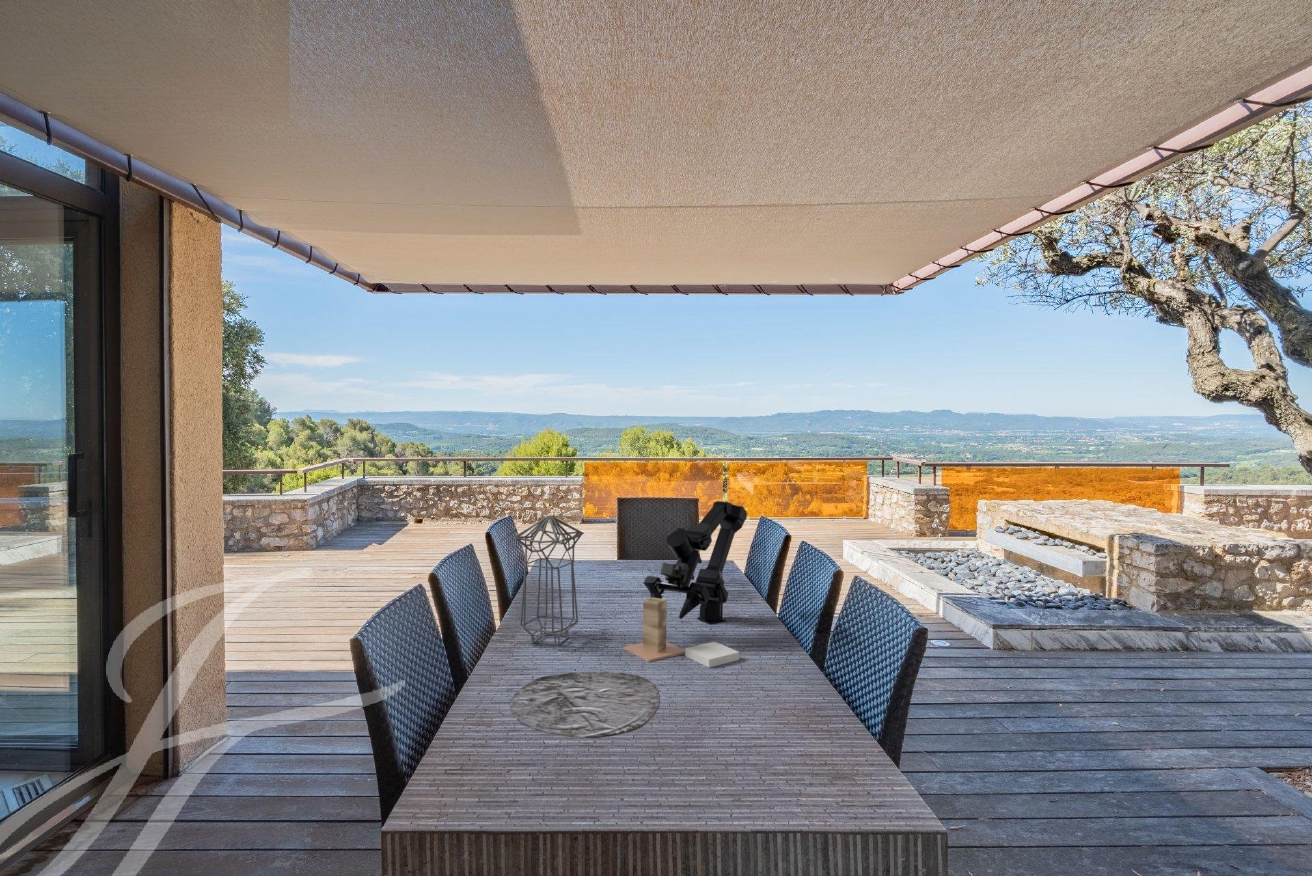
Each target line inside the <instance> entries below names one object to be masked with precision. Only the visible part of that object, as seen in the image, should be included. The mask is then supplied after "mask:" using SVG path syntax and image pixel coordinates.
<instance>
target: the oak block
mask: <svg viewBox="0 0 1312 876" xmlns="http://www.w3.org/2000/svg"><path fill="white" fill-rule="evenodd" d="M642 603H643V605H642V606H643V607H642V610H643V611H642V613H643V616H642V618H643V619H642V643H643V650H647V651H651V652H656V653H658V652H660V651H662V650H664V649H665V648H666V642H667V612H668V611H667V607H668V605H667V599H664V598H662V599H659V598H653V597H652V598H651V597H649V598H647V599H645V600H643V602H642Z"/></svg>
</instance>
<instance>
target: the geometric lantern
mask: <svg viewBox="0 0 1312 876" xmlns="http://www.w3.org/2000/svg"><path fill="white" fill-rule="evenodd" d="M548 522H549V523H550V526H551V527H550V528H551V530H547V529H546V528H547V526H548ZM562 525H563V526H565V527H568V528H569V529H571V530H573V531H568V530H566V529H565V528H564V527H563V526H562ZM527 532H528V533H527ZM540 532H541V536H540V538H539V540H535V538H536V537H537V535H538V534H539V533H540ZM526 533H527V534H526ZM524 534H525V535H524ZM550 534H553V536H554V537H552V536H551V535H550ZM572 534H573V535H572ZM584 534H585V533H584V532H583V531H581V530H579V529H578V528H575V527H573V526H572V525H570V524H568V523H566V522H565V521H562V520H561V519H559V518H557V517H555V516H553V515H546V516H545V517H544V518H542V519H540V520H538V521H537V522H535V523H534V524H533V525H531V526H529V527H528V528H526V529H525V530H523V531H521V532H520V533H518V534H516V535H514V537H513V539H514V540H515V541H516V542H518V543H519V544H521V546H523V547H524V552H525V553H524V569H523V582H522V584H523V585H522V594H521V608H520V620H519V621H520V623H519V627H520V629H522V630H524V631H525V632H526V633H527V634H529V635H530V637H531V638H530V642H531V643H532V644H541V645H550V646H559V645H561V644H562V643H564V642H565V641H566V640H568V639H569V638H570V637H569V631H570V630H571V629H572V628H573V627H575V625H577V624H578V623H579V614H578V604H577V603H578V602H577V592H576V591H577V590H576V581H575V579H576V578H575V569H574V566H575V565H574V564H575V563H574V562H575V547H576V546H575V545H576V544H577V542H579V540H580V538H581V537H582V536H583V535H584ZM544 535H546V536H547V537H548V538H549V539H551V540H543V537H544ZM560 536H561V540H560ZM570 541H572V545H571V544H570ZM527 542H529V544H527ZM534 543H535V544H536V543H537V544H538V548H539V549H536V547H535V546H534ZM546 543H548V544H547V545H546V546H544V547H543V548H542V547H541V544H546ZM549 543H550V544H549ZM557 544H560V545H563V548H564V549H565V551H564V552H563V555H562V556H561V557H560V558H554V557H553V558H551V557H550V556H551V554H552V552H553V551H554V549H555V547H556V546H557ZM570 545H571V546H570ZM551 546H552V548H551V550H550V551H549V553H548V554H546V553H545V550H546V549H549V547H551ZM567 546H568V547H567ZM570 550H572V555H571V554H570V552H569V551H570ZM528 551H529V552H530V554H529V556H528ZM533 553H536V554H537V556H538V557H539V558H537V559H534V560H531V561H530V559H531V557H532V554H533ZM539 553H542V555H543V557H542V556H541V554H539ZM566 553H567V554H568V556H569V557H568V558H569V559H566V558H565V556H566ZM550 560H554V561H559V563H558V564H557V566H553V565H552V562H550ZM537 561H539V565H529V564H532V563H535V562H537ZM542 561H545V566H542ZM562 561H568V562H569V563H566V564H563V565H561V562H562ZM548 565H549V566H548ZM560 565H561V566H560ZM569 565H570V571H571V572H570V573H571V577H570V579H571V580H570V581H571V607H572V617H568V616H567V617H566V616H563V609H562V608H563V607H562V591H561V590H562V589H561V576H560V574H561V573H560V571H561V570H560V569H562V568H564V567H566V566H569ZM529 567H530V568H538V584H537V587H538V588H537V602H536V603H537V604H536V616H535V617H534V618H532V619H530V620H528V621H526V611H527V610H526V609H527V606H526V603H527V600H526V599H527V569H528V568H529ZM542 569H545V605H544V606H545V609H544V610H545V615H539V613H540V593H541V578H542V577H541V576H542V573H541V572H542ZM548 569H550V593H551V595H550V596H551V597H550V598H551V599H550V601H551V607H550V608H551V615H548ZM553 570H557V584H558V585H557V586H558V599H559V601H558V602H559V616H556V615H555V616H554V575H553V573H554V571H553ZM542 618H545V620H544V626H543V625H542V623H541V620H540V619H542ZM547 618H549V619H550V618H551V626H546V625H547ZM554 619H558V620H559V619H560V627H554V625H555V623H554V622H555V621H554ZM535 620H537V621H538V624H539V625H540V628H531V627H526V625H528V624H529V623H531V622H533V621H535ZM563 620H571V621H570V623H569V624H568V625H567V626H565V627H564V622H563ZM546 629H547V630H546ZM548 629H549V630H548ZM531 631H533V633H532V632H531ZM538 632H540V634H536V633H538ZM557 633H559V634H557ZM547 635H548V636H547ZM561 637H565V638H564V639H563V640H562V641H561V640H560V638H561ZM539 638H547V639H553V640H554V643H549V642H541V641H535V640H536V639H539Z"/></svg>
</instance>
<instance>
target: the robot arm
mask: <svg viewBox="0 0 1312 876" xmlns="http://www.w3.org/2000/svg"><path fill="white" fill-rule="evenodd" d="M747 517H748V512H747V510H746V509H745V508H744V506H743V505H736V504H732V503H731V502H729V501H720V500H717V501H714V502H713V504H712V507H711V509H710V510H708V512H707V513H706V515H704V517H703V518H702V519H701V520H700V522H699V523H698V524H694V525H691V526H690V527H689V528H688V529H685V527H678V528H677V529H676V530H674V531H672V532H671V533H670V534H669V535H668V536H667V538H666V543H667V545H668V547H669V548H670V550H671V552H672V553H673V555H674V556H675V557H676V558H677V559H676V562H675V563H669V562H662V566H661V569H660V573H659V574H660V575H661V576H664V579H665V581H667V582H663V581H662V580H661V577H659V576H652V575H648V576H646V577H645V579H644V581H643V584H644V586H645V588H646V589H647V590H648V592H649V593H650V598H652V597H653V598H659V599H663V595H662V594H664V593H665V591H670V592H675V593H682V594H686V597H685V600H684V602H683V605H682V607H681V608H680V609H681V610H680V612H679V615H678V618H679V619H680V620H682V619H683V618H684V617H685V616H686V615H688V614H689V613H690V612H691V611H693V610H694V609H695V608H697V607H699V616H697V618H696V619H697V620H699V621H702V622H705V623H707V624H710V625H713V624H716V623H717V624H718V623H721V622H726V621H727V619H726V618H725V617H724V615H723V613H724V612H723V611H724V609H723V608H724V607H723V606H724V604H726V603H727V601H728V598H729V592H728V591H727V590H726V587H725V579H724V577H723V571H724V568H725V566H726V562H727V559H728V556H729V552H730V549H731V546H732V543H733V540H734V536H735V534H736V533H737V532H738V531H740V529H742V528H743V526H744V523H745V521H746V520H747ZM719 525H720V528H719V531H718V534H717V537H716V540H715V543H714V547H713V549H712V552H711V555H710V558H709V561H708V564H707V566H706V567H705V568H700V569H699V571H698V573H697V576H696V579H695V575H694V574H695V571H696V569H697V566H698V564H702V561H703V560H702V557H701V554H700V553H699V551H702V552H703V551H707V550H708V549H709V547H710V546H711V544H712V541H713V540H712V539H713V538H712V535H713V533H714V532H715V531H716V530H717V528H718V526H719ZM694 580H695V581H694ZM691 581H693V582H691Z"/></svg>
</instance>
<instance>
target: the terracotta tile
mask: <svg viewBox="0 0 1312 876" xmlns="http://www.w3.org/2000/svg"><path fill="white" fill-rule="evenodd" d="M623 650H625V651H627V653H628V652H629V653H631V654H632V655H634V656H636V657H638V658H640V659H641V660H643V661H645V662H648V663H650V662H655V661H660V660H662V659H668V658H671V657H676V656H680V655H685V649H683V648H681V647H678V646H677V645H674V644H673V643H670V642H668V641H666V648H665V649H664V650H662V651H660V652H658V653H656V652H651V651H647V650H643V642H639V643H635V644H634V643H633V644H631V645H630V644H629V645H625V646H624V645H623Z"/></svg>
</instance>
